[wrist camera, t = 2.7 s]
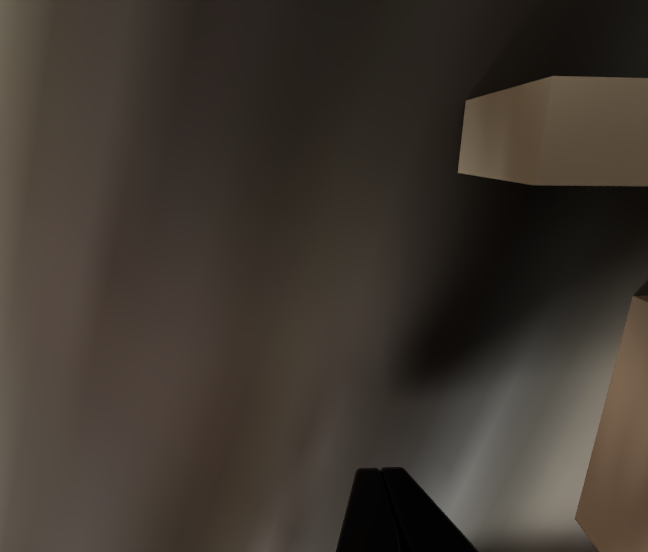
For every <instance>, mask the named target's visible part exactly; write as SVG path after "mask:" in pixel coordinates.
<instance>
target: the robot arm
mask: <svg viewBox="0 0 648 552" xmlns="http://www.w3.org/2000/svg"><path fill="white" fill-rule="evenodd" d="M336 552H479V551H478V550H477V549H476V548H475V547H474V546H473V544H472V543H471V542H470V541H469V540H468V539H467V538H466V537H465V536H464V534H463V533H462V532H461V531H460V530H459V529H458V528H457V527H456V526H455V525H454V523H453V522H452V521H451V520H450V519H449V518H448V517H447V516H446V515H445V513H444V512H443V511H442V510H441V509H440V508H439V507H438V506H437V505H436V504H435V502H434V501H433V500H432V499H431V498H430V497H429V496H428V495H427V494H426V492H425V491H424V490H423V489H422V488H421V487H420V486H419V485H418V484H417V483H416V481H415V480H414V479H413V478H412V477H411V476H410V475H409V474H408V473H407V471H406V470H405V469H403V468H401V467H384V468H382V469H380V471H379V469H377V468H359V469H357V471H356V473H355V477H354V481H353V485H352V489H351V493H350V497H349V501H348V505H347V509H346V513H345V517H344V521H343V525H342V529H341V533H340V537H339V541H338V545H337V549H336Z"/></svg>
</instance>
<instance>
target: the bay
mask: <svg viewBox="0 0 648 552" xmlns="http://www.w3.org/2000/svg"><path fill="white" fill-rule="evenodd" d="M458 173H462V174H468V175H474V176H480V177H486V178H492V179H498V180H505V181H511V182H517V183H523V184H529V185H549V186H648V78H620V77H577V76H551V77H547V78H544V79H540V80H537V81H533V82H530V83H526V84H523V85H519V86H516V87H512V88H509V89H505V90H502V91H498V92H494V93H491V94H487V95H484V96H480V97H477V98H473V99H470V100H466V103H465V112H464V121H463V130H462V139H461V148H460V157H459V166H458Z"/></svg>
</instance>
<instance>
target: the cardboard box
mask: <svg viewBox="0 0 648 552" xmlns="http://www.w3.org/2000/svg"><path fill="white" fill-rule="evenodd" d="M575 520H576V521H577V522H578V524H579V525H580V526H581V528H582V529H583V531H584V532H585V533H586V535H587V536H588V537H589V539H590V540H591V541H592V543H593V544H594V546H595V547H596V548H597V550H598V551H599V552H648V296H633V297H632V301H631V305H630V309H629V313H628V316H627V320H626V324H625V328H624V332H623V336H622V339H621V343H620V347H619V351H618V355H617V359H616V363H615V366H614V370H613V374H612V378H611V382H610V386H609V389H608V393H607V397H606V401H605V405H604V409H603V413H602V416H601V420H600V424H599V428H598V432H597V436H596V439H595V443H594V447H593V451H592V455H591V459H590V463H589V466H588V470H587V474H586V478H585V482H584V486H583V489H582V493H581V497H580V501H579V505H578V509H577V513H576V516H575Z"/></svg>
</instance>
